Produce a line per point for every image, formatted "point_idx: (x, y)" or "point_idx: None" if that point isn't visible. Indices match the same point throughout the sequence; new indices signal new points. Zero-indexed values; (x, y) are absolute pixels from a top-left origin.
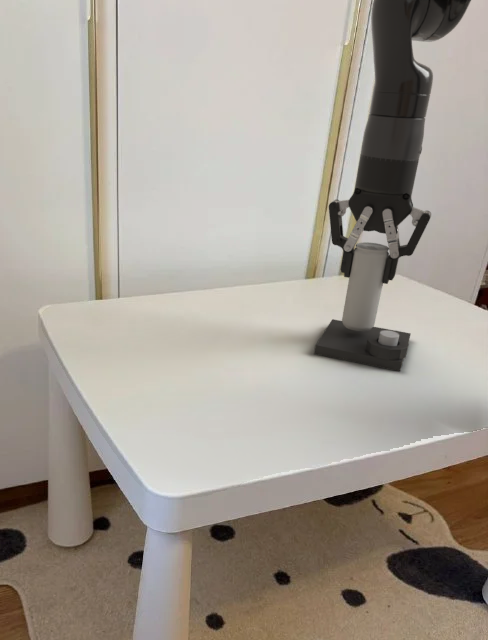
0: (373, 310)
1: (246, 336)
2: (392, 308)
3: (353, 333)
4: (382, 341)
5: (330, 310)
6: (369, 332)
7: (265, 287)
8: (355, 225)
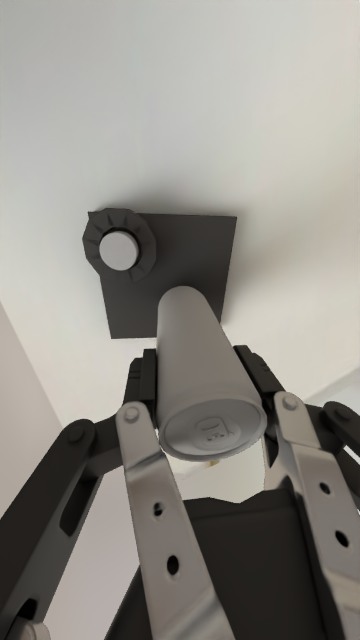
0: (162, 310)
1: (331, 238)
2: None
3: None
4: (127, 234)
5: None
6: None
7: None
8: (354, 506)
